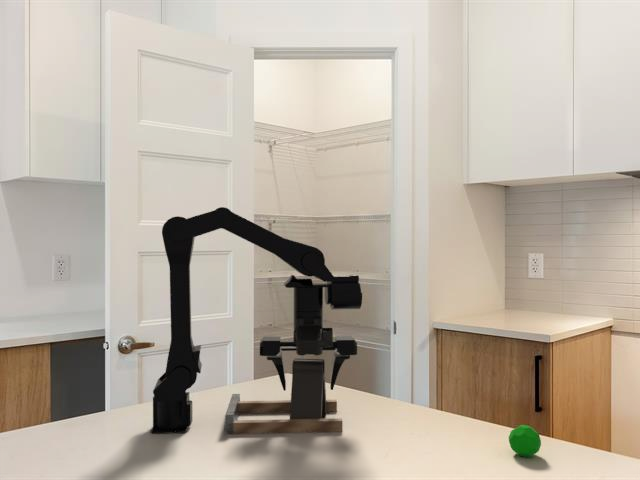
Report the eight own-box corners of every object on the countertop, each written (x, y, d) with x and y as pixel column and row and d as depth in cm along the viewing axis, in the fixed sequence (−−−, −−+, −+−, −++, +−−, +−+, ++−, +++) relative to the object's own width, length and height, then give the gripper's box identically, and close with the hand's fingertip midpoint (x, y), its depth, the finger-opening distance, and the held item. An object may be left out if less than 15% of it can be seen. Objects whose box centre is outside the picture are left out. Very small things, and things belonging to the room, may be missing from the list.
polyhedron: (547, 457, 95) (547, 428, 95) (527, 463, 93) (527, 433, 93) (522, 447, 100) (522, 419, 100) (502, 453, 97) (502, 424, 97)
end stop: (225, 434, 106) (225, 414, 106) (232, 410, 120) (232, 393, 120) (233, 433, 107) (233, 414, 107) (239, 410, 121) (239, 393, 120)
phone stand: (298, 412, 119) (298, 354, 119) (327, 414, 118) (327, 355, 118) (289, 427, 110) (288, 364, 110) (320, 428, 109) (320, 365, 109)
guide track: (228, 433, 106) (227, 423, 106) (235, 410, 120) (235, 401, 120) (342, 431, 108) (342, 420, 108) (336, 409, 122) (336, 399, 122)
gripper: (258, 316, 106) (258, 402, 106) (360, 315, 107) (360, 400, 107) (261, 308, 117) (261, 386, 117) (353, 307, 118) (353, 385, 118)
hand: (308, 389), depth 114 cm, fingers open, 9 cm apart
